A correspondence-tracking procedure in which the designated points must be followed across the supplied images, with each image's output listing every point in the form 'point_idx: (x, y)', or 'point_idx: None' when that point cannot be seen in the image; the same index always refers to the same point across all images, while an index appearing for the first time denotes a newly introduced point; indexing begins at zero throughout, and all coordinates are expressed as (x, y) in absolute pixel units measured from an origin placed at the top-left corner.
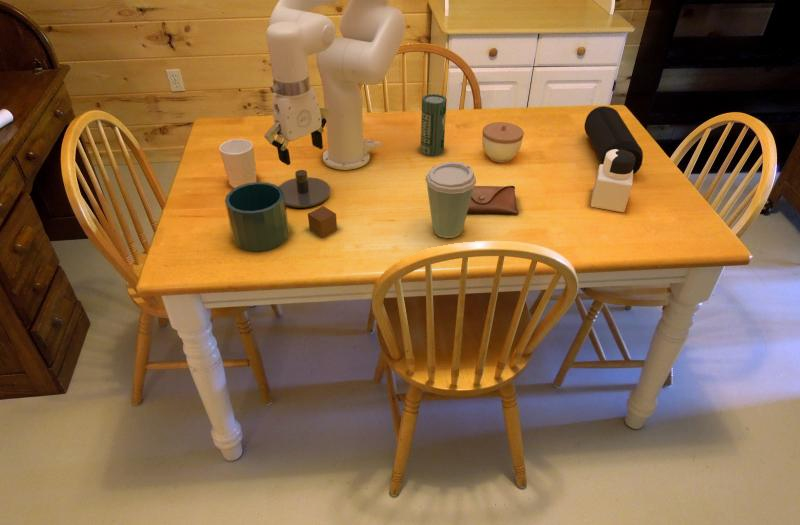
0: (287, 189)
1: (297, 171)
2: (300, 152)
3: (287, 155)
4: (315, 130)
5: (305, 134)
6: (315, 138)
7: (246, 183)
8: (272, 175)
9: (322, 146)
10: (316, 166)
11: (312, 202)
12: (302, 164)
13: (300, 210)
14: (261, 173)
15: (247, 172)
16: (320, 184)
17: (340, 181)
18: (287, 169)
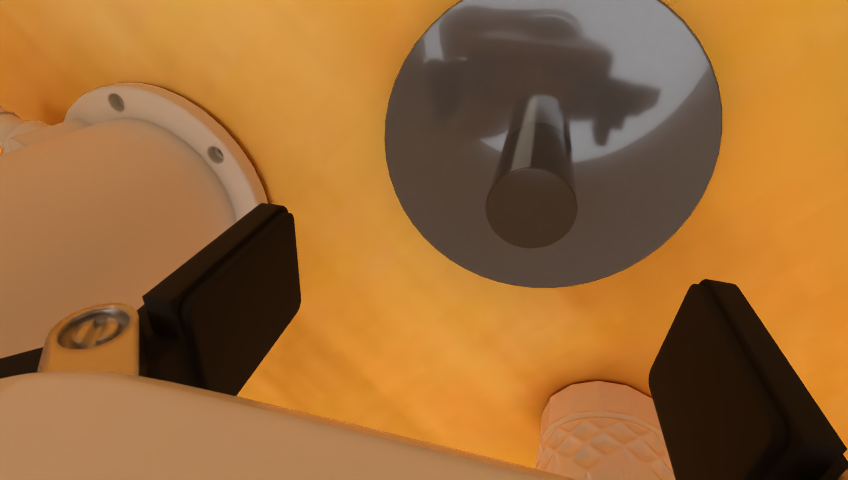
0: (576, 234)
1: (532, 240)
2: (293, 364)
3: (787, 368)
4: (163, 385)
5: (452, 472)
6: (246, 319)
7: (642, 409)
8: (486, 361)
9: (256, 211)
10: (310, 260)
11: (624, 3)
12: (342, 314)
13: (701, 39)
14: (502, 399)
15: (638, 453)
16: (423, 121)
17: (309, 77)
18: (411, 339)
